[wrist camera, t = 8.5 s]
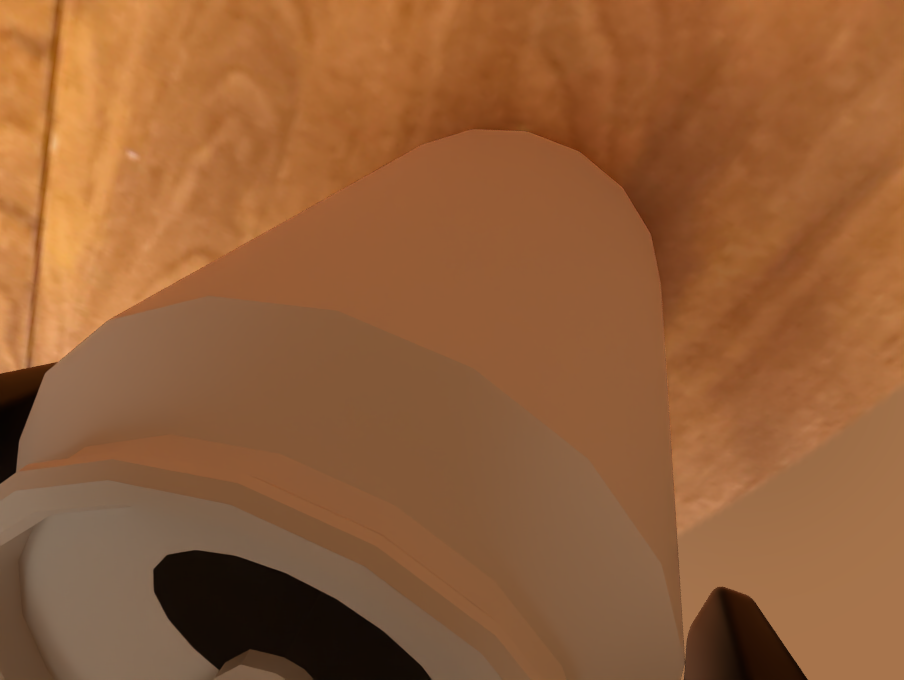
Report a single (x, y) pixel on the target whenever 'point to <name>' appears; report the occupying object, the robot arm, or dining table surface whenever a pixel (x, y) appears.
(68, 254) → the dining table surface
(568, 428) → the can
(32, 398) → the robot arm
